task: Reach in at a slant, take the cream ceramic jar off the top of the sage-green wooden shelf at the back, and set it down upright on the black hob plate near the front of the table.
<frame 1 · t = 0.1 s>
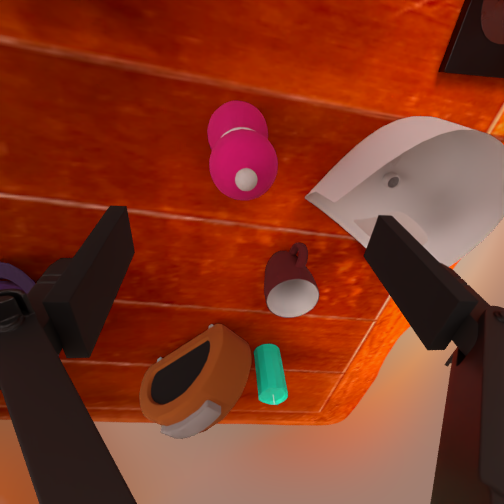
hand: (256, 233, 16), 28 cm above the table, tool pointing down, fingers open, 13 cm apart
candle: (266, 351, 67), on the table
alarm clock: (196, 349, 64), on the table
decorative bottle: (34, 294, 52), on the table
white curved piece: (385, 179, 45), on the table
pepper mill: (236, 126, 39), on the table
mug: (283, 253, 52), on the table
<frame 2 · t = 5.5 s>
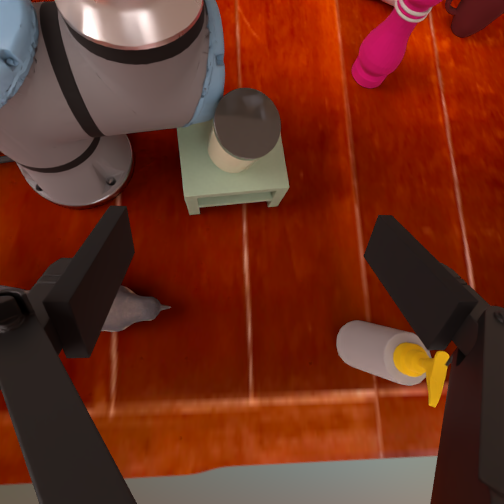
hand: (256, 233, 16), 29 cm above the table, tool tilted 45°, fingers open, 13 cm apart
soap bottle: (353, 342, 45), on the table
decorative bird: (83, 304, 42), on the table
jar: (233, 146, 39), point 9 cm above the table, tilted 16°, touching arm, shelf
pepper mill: (367, 74, 54), on the table
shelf: (229, 174, 47), on the table
mug: (453, 29, 58), on the table
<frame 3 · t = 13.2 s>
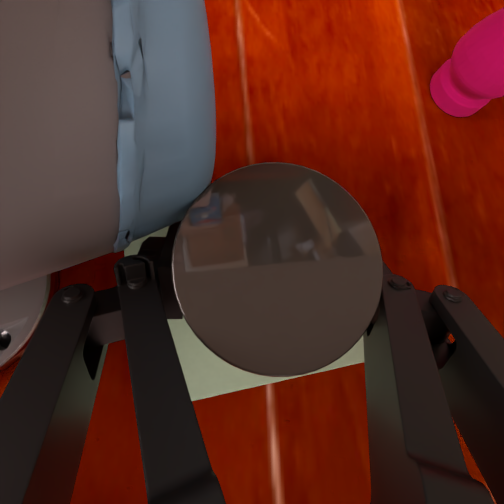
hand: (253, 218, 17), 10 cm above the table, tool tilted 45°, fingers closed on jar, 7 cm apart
jar: (248, 281, 18), point 8 cm above the table, touching arm, gripper
pepper mill: (453, 93, 33), on the table
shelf: (237, 290, 26), on the table
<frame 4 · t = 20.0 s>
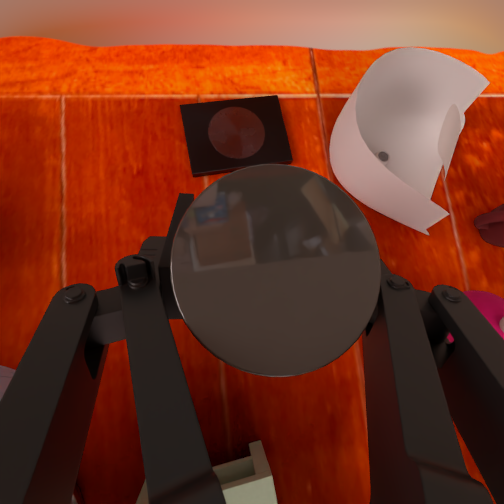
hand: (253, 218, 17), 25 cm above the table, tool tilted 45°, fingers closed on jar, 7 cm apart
jar: (249, 281, 18), point 23 cm above the table, touching gripper
white curved piece: (378, 163, 47), on the table
pepper mill: (382, 316, 43), on the table
hob plate: (236, 137, 45), on the table
mug: (482, 232, 47), on the table
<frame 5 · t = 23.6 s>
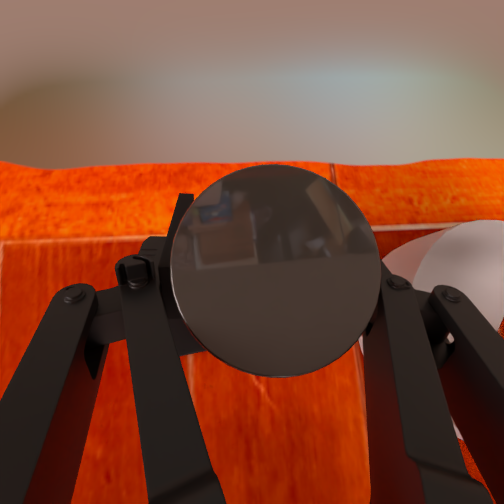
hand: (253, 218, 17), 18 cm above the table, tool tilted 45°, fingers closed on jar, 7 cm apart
jar: (249, 282, 18), point 16 cm above the table, touching gripper
white curved piece: (417, 323, 36), on the table
hob plate: (232, 293, 34), on the table
when the fingers open (3 cm above the table, at t = 26.7 s): jar stays where it is, resting on hob plate.
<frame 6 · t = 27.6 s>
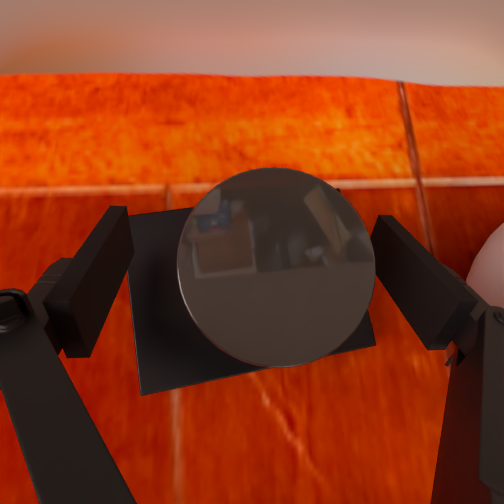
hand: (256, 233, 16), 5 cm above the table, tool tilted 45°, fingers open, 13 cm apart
jar: (251, 281, 19), point 1 cm above the table, touching hob plate
hob plate: (248, 283, 20), on the table
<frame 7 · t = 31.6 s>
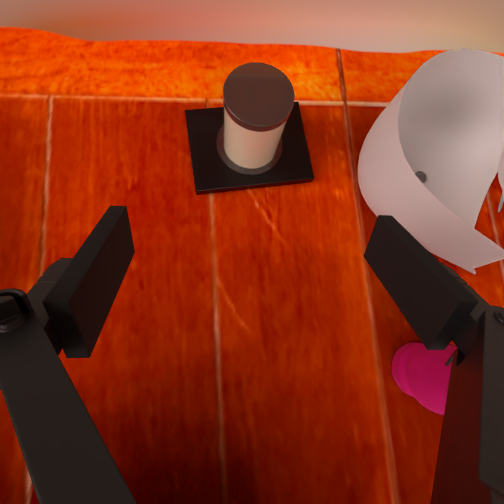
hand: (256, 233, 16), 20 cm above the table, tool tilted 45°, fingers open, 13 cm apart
jar: (250, 143, 37), point 1 cm above the table, touching hob plate
white curved piece: (413, 184, 40), on the table
pepper mill: (414, 368, 36), on the table
hob plate: (248, 149, 38), on the table
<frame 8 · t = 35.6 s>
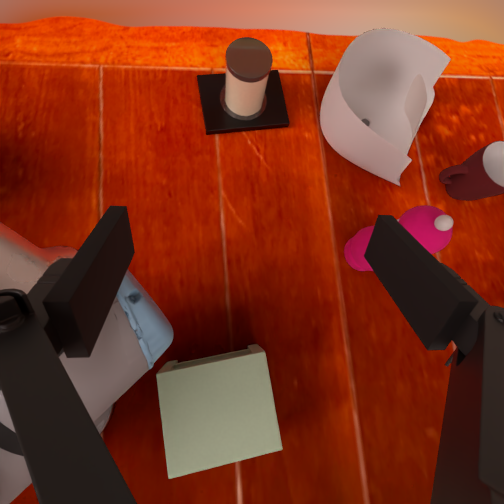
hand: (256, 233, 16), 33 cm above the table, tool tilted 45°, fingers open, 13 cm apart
jar: (244, 98, 52), point 1 cm above the table, touching hob plate
white curved piece: (362, 130, 56), on the table
pepper mill: (360, 253, 51), on the table
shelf: (219, 393, 44), on the table
hob plate: (242, 103, 54), on the table
mug: (448, 189, 56), on the table
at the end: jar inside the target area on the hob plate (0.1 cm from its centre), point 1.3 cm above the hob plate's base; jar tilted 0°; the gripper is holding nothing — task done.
